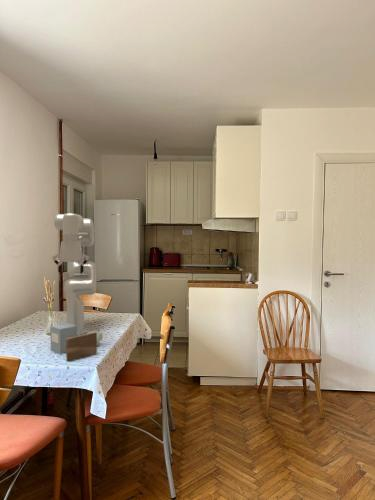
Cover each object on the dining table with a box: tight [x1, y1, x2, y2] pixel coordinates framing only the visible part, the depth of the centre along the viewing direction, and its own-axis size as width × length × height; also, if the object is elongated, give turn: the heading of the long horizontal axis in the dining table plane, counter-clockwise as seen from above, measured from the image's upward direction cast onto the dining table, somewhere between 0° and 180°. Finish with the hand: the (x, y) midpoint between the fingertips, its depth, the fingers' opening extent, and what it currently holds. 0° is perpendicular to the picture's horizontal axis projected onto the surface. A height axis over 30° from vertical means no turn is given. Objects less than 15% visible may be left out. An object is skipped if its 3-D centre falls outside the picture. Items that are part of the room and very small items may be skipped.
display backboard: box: [65, 332, 98, 362], centre depth 167 cm, size 2×15×10 cm, turn 138°
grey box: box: [50, 322, 78, 355], centre depth 178 cm, size 9×9×12 cm
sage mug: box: [86, 330, 103, 348], centre depth 186 cm, size 6×8×7 cm
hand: (71, 273), depth 179 cm, fingers open, 9 cm apart
